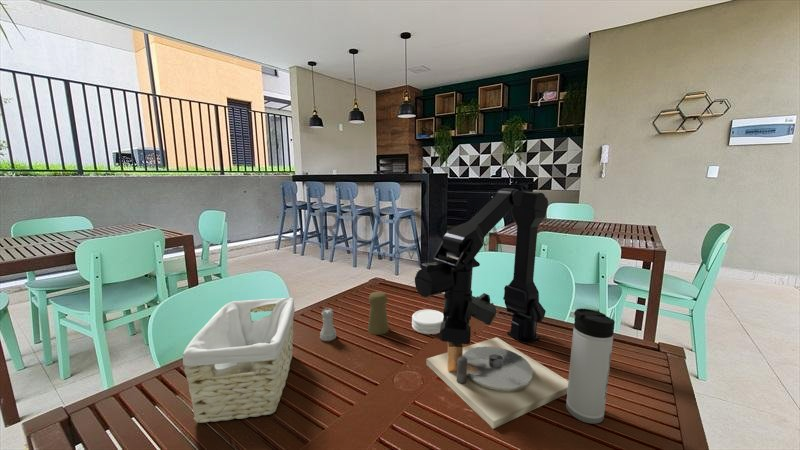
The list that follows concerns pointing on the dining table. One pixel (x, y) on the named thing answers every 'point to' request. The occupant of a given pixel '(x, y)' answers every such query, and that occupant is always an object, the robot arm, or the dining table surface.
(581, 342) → the travel mug
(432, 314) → the coaster
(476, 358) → the flange plate
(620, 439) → the dining table surface
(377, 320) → the cork
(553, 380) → the birch base board
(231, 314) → the storage basket
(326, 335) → the white chess piece
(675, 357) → the dining table surface
